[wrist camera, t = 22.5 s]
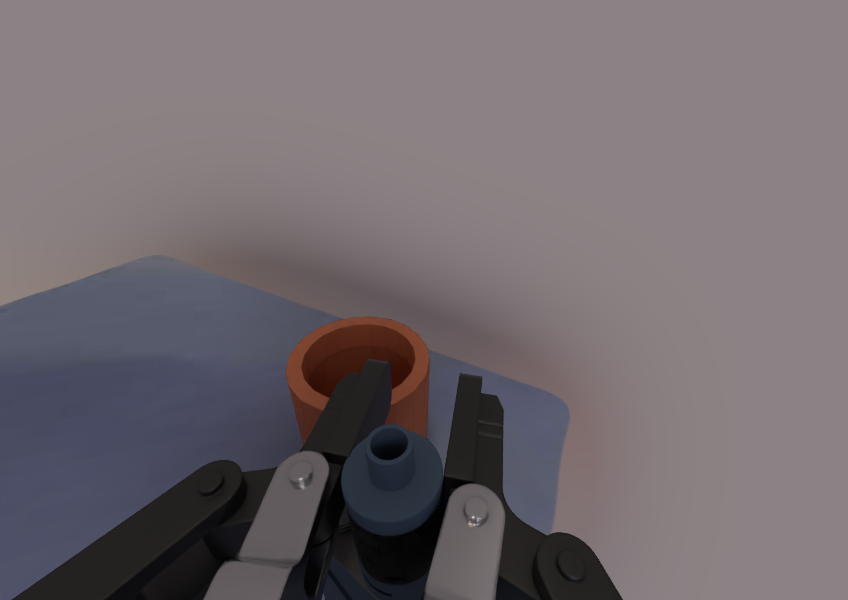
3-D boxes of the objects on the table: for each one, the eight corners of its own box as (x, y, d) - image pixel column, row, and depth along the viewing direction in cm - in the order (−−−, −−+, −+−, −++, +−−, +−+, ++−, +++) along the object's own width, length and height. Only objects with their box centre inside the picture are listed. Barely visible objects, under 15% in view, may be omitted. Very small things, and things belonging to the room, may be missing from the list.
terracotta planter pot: (434, 404, 37) (439, 325, 31) (411, 510, 28) (411, 426, 22) (336, 387, 38) (323, 309, 33) (284, 483, 29) (256, 398, 24)
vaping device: (417, 717, 12) (393, 529, 6) (318, 604, 15) (236, 399, 9) (457, 638, 14) (469, 431, 8) (363, 550, 17) (318, 346, 11)
